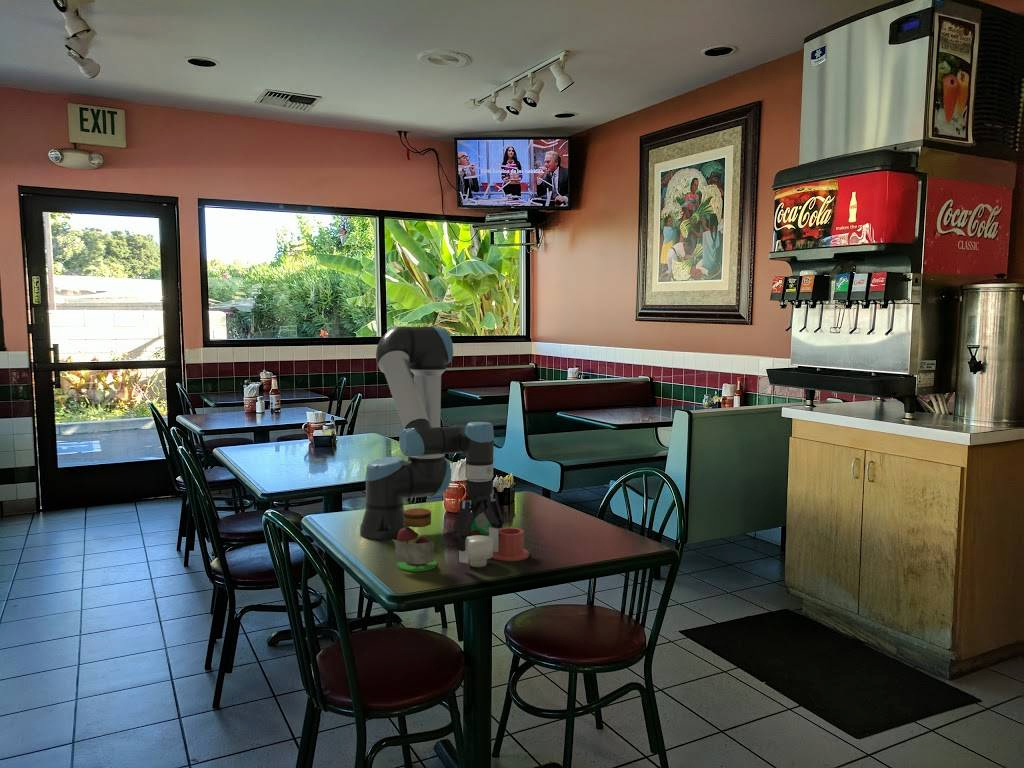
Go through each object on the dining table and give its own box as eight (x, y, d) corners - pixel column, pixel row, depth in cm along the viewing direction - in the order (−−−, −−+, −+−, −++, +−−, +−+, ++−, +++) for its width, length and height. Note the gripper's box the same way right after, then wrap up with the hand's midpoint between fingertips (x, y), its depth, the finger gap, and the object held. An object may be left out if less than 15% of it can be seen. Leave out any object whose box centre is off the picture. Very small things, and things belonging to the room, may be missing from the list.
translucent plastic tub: (393, 559, 209) (393, 506, 208) (439, 558, 210) (439, 506, 209) (389, 573, 197) (389, 517, 196) (437, 572, 198) (438, 517, 197)
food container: (491, 547, 221) (491, 514, 220) (470, 546, 222) (471, 512, 222) (500, 536, 233) (500, 504, 233) (480, 534, 235) (481, 503, 234)
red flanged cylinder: (482, 556, 213) (483, 532, 212) (505, 547, 222) (505, 524, 221) (514, 563, 206) (514, 538, 206) (536, 554, 215) (536, 530, 215)
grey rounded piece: (457, 565, 205) (458, 540, 204) (475, 558, 211) (476, 533, 211) (480, 571, 200) (481, 545, 199) (498, 563, 206) (499, 538, 206)
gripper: (461, 488, 191) (461, 570, 193) (516, 474, 211) (516, 548, 213) (439, 484, 196) (439, 564, 197) (495, 471, 216) (495, 544, 217)
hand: (479, 556), depth 205 cm, fingers open, 12 cm apart
